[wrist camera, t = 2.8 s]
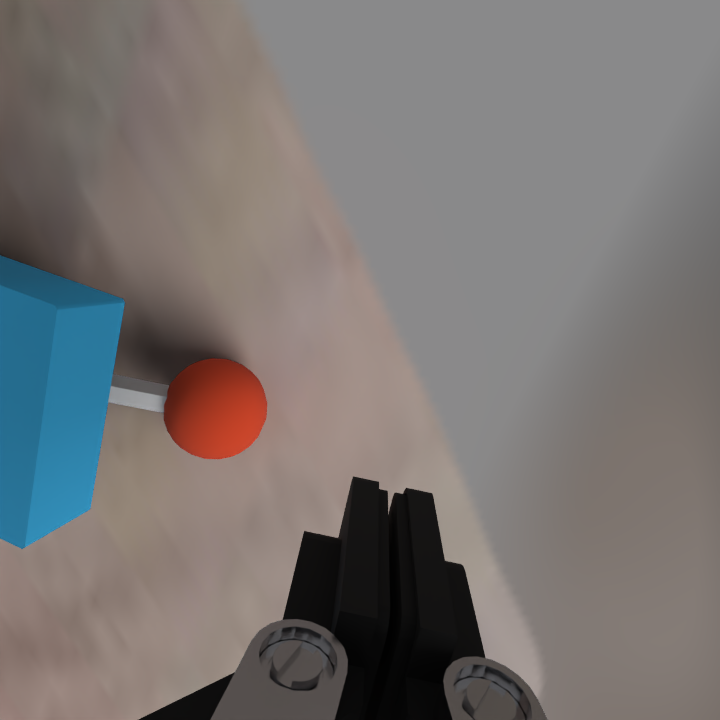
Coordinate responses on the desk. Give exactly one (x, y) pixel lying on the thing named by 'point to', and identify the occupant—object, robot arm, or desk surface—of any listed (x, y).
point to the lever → (91, 399)
